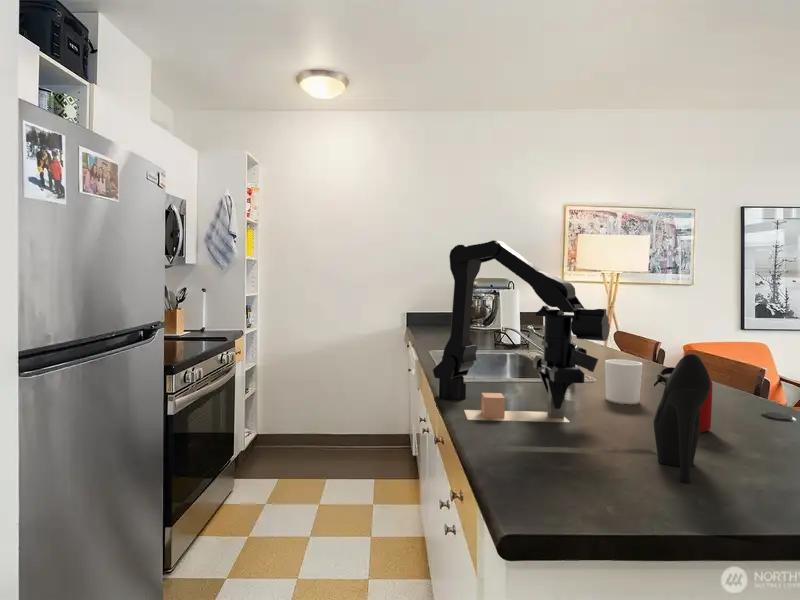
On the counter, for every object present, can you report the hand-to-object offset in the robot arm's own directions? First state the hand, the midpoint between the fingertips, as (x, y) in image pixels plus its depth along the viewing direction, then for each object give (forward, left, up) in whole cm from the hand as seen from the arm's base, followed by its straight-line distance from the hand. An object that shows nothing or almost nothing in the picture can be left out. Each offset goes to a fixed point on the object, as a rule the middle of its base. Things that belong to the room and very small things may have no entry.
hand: (555, 407), depth 109 cm
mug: (+23, +21, -3) cm, 31 cm away
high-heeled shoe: (+13, -26, -3) cm, 29 cm away
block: (-14, 0, -2) cm, 14 cm away
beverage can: (+28, -4, -3) cm, 28 cm away
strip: (-9, 0, -3) cm, 9 cm away
